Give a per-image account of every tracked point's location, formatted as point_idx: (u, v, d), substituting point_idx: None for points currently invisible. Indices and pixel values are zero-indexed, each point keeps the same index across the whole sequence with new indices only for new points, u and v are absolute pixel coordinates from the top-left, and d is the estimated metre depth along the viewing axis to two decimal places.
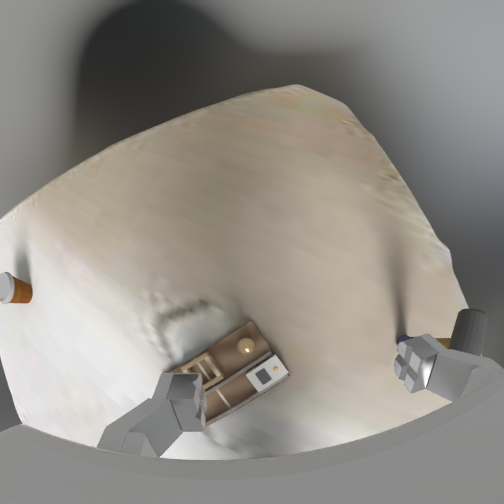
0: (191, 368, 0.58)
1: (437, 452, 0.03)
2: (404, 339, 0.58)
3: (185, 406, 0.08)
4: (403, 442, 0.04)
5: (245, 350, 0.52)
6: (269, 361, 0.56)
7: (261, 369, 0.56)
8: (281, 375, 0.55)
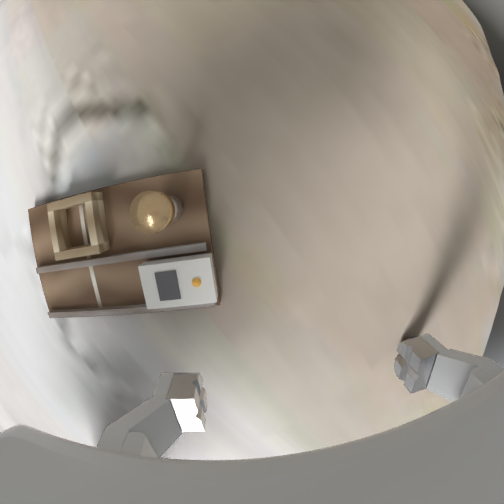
0: (68, 211, 0.29)
1: (437, 452, 0.03)
2: None
3: (185, 406, 0.08)
4: (403, 443, 0.04)
5: (143, 219, 0.21)
6: (191, 263, 0.28)
7: (168, 271, 0.28)
8: (201, 300, 0.29)
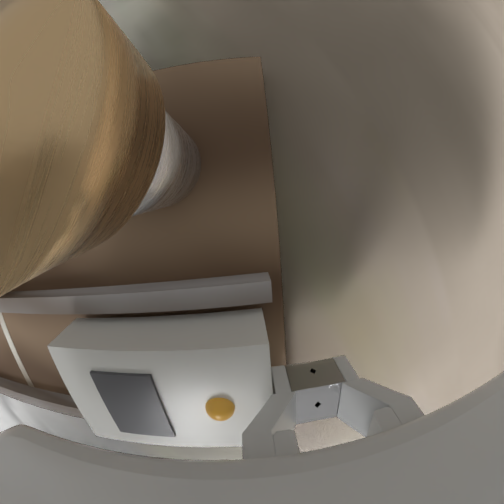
0: None
1: (437, 452, 0.03)
2: None
3: (309, 396, 0.08)
4: (403, 442, 0.04)
5: None
6: (203, 360, 0.08)
7: (130, 374, 0.08)
8: (232, 441, 0.09)
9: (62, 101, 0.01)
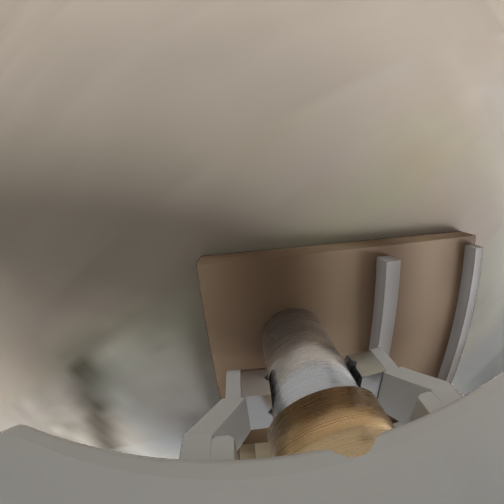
0: None
1: (437, 452, 0.03)
2: None
3: (260, 402, 0.08)
4: (403, 442, 0.04)
5: None
6: None
7: None
8: None
9: None
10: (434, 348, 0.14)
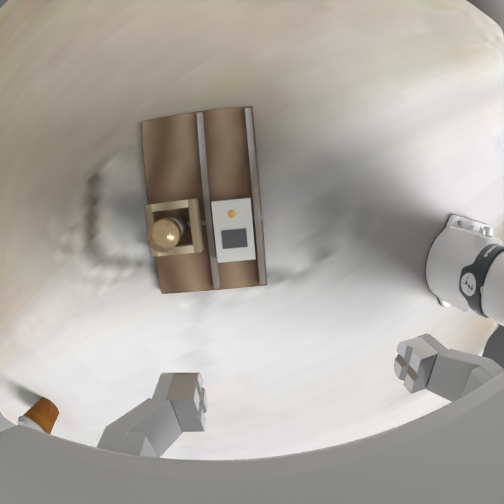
0: None
1: (437, 452, 0.03)
2: None
3: (185, 406, 0.08)
4: (403, 442, 0.04)
5: (166, 240, 0.29)
6: (215, 217, 0.35)
7: (222, 236, 0.35)
8: (248, 211, 0.35)
9: (164, 220, 0.29)
10: (238, 155, 0.36)
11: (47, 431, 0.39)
